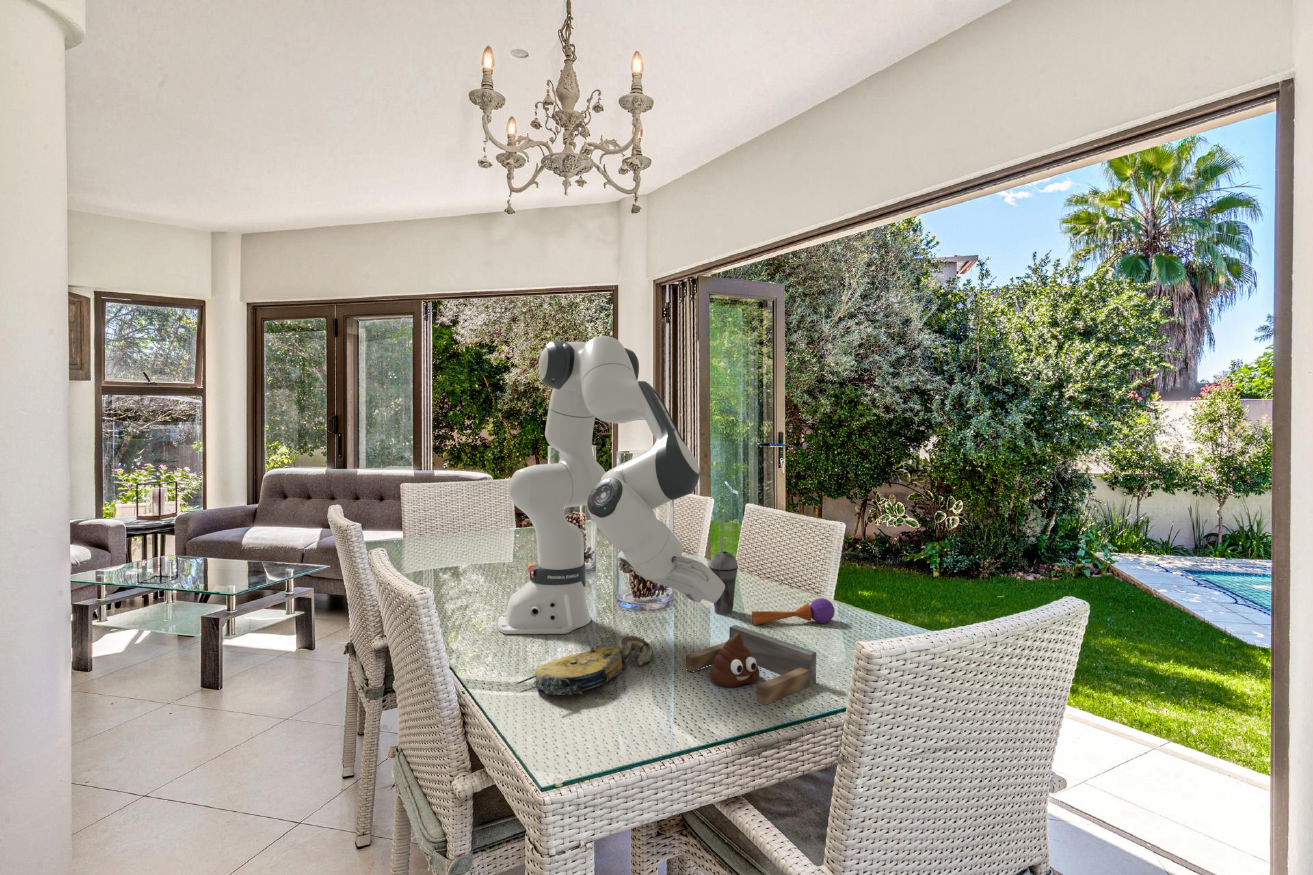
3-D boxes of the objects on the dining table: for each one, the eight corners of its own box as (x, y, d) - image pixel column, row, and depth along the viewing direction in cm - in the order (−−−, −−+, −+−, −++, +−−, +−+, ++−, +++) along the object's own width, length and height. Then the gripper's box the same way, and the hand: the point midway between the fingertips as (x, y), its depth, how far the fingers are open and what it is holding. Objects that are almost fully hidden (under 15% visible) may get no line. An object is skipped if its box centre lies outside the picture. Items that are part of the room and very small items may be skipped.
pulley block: (673, 633, 142) (554, 676, 121) (676, 662, 142) (558, 710, 121) (627, 628, 152) (510, 667, 131) (630, 655, 152) (513, 698, 131)
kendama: (749, 604, 170) (828, 595, 172) (752, 629, 170) (831, 620, 171) (754, 607, 165) (836, 598, 166) (757, 632, 164) (839, 623, 166)
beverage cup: (743, 612, 176) (744, 535, 174) (721, 618, 172) (721, 538, 170) (725, 605, 182) (725, 530, 180) (703, 610, 178) (703, 533, 176)
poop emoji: (745, 668, 141) (745, 622, 140) (769, 683, 133) (769, 636, 132) (701, 676, 136) (702, 630, 136) (723, 693, 129) (723, 644, 128)
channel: (765, 705, 123) (765, 672, 123) (685, 669, 139) (685, 640, 139) (815, 682, 133) (816, 652, 132) (735, 652, 149) (735, 624, 148)
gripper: (707, 549, 112) (747, 597, 119) (630, 528, 128) (669, 571, 135) (687, 581, 110) (729, 627, 117) (610, 556, 125) (651, 598, 133)
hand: (696, 597), depth 126 cm, fingers closed
